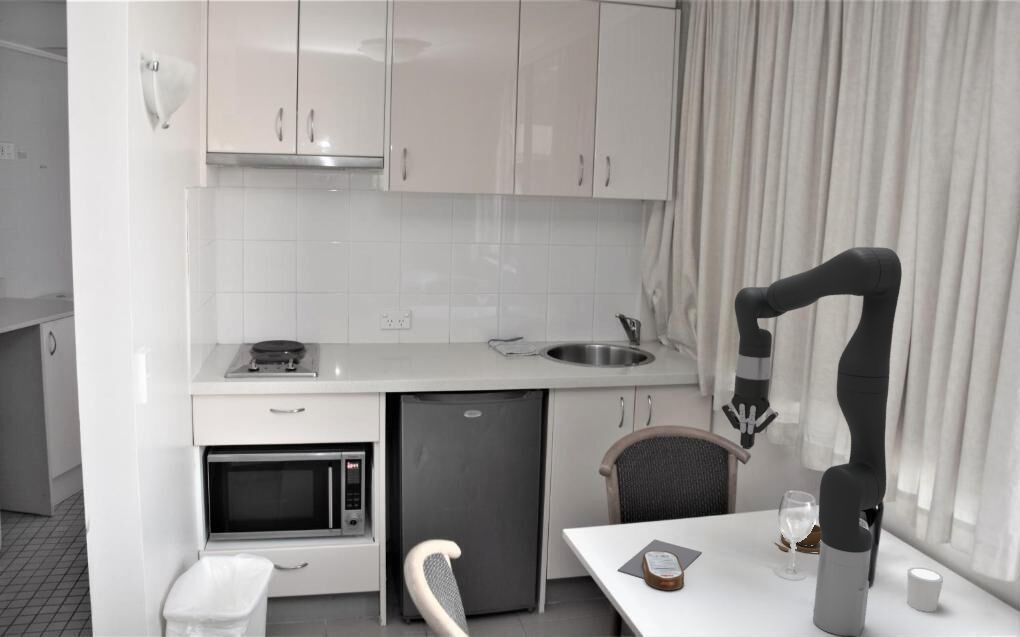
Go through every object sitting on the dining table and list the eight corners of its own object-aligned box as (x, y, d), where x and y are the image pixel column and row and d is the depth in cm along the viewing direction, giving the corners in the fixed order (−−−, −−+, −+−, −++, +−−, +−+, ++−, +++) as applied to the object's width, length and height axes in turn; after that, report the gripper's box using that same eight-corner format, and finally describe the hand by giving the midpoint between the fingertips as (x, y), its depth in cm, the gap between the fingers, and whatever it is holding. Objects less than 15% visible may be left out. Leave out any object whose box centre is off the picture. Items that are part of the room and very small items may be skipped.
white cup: (946, 608, 175) (950, 577, 174) (926, 615, 171) (930, 583, 170) (917, 594, 181) (920, 564, 180) (896, 601, 177) (900, 570, 176)
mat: (701, 553, 198) (701, 552, 198) (667, 586, 180) (667, 584, 180) (654, 540, 204) (654, 539, 204) (617, 570, 186) (617, 569, 186)
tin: (675, 560, 192) (639, 561, 193) (675, 547, 192) (639, 548, 192) (687, 591, 177) (647, 591, 178) (687, 577, 177) (647, 577, 177)
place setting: (822, 533, 214) (824, 511, 213) (874, 567, 195) (877, 543, 194) (761, 538, 209) (763, 516, 208) (809, 573, 190) (811, 549, 189)
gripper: (786, 376, 188) (780, 450, 191) (729, 367, 195) (723, 439, 198) (777, 381, 182) (771, 458, 184) (718, 373, 189) (713, 446, 191)
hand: (746, 448), depth 191 cm, fingers closed
